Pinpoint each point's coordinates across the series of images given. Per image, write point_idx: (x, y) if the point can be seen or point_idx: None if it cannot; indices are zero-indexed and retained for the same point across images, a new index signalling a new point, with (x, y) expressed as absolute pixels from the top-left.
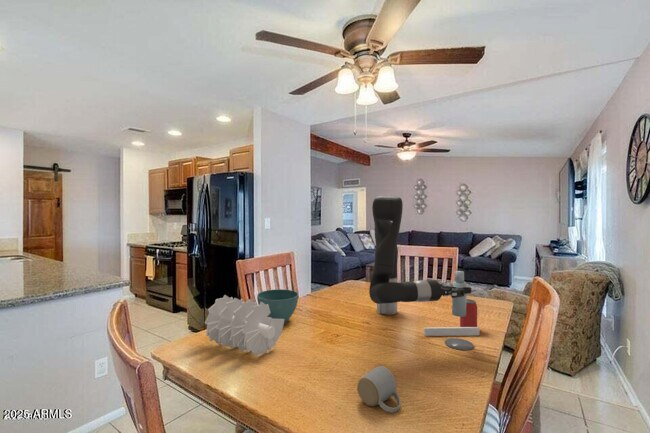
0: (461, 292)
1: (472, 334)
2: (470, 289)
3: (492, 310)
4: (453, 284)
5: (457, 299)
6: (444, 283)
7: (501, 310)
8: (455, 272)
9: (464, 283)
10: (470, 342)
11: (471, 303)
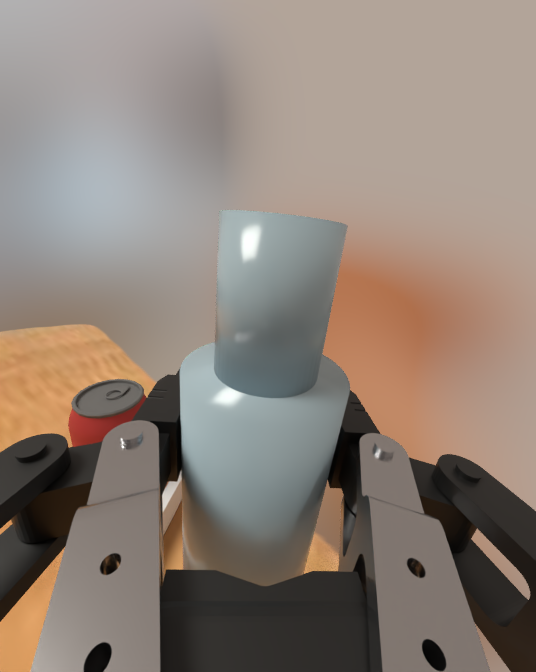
0: (473, 530)
1: (172, 515)
2: (350, 394)
3: (90, 356)
4: (258, 451)
5: (296, 566)
6: (93, 585)
7: (107, 348)
8: (260, 235)
9: (332, 365)
10: None
11: (136, 404)
